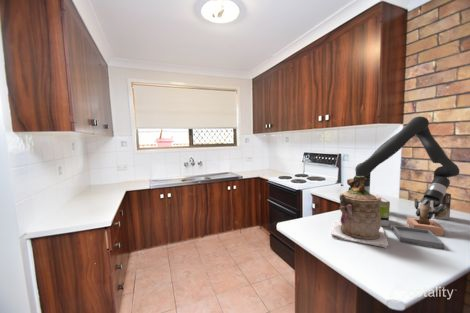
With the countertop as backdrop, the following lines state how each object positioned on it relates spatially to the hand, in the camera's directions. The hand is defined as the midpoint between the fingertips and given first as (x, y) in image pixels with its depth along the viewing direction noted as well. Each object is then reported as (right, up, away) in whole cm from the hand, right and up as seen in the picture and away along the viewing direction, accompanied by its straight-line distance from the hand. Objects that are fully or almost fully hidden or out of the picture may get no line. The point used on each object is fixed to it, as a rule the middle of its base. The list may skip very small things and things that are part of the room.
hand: (422, 216), depth 113 cm
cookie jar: (-38, -8, -3) cm, 39 cm away
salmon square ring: (+2, -7, +1) cm, 8 cm away
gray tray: (-12, -8, -9) cm, 17 cm away
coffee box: (+27, -6, +19) cm, 34 cm away
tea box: (-18, -7, +14) cm, 23 cm away
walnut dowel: (+2, -6, +1) cm, 6 cm away
